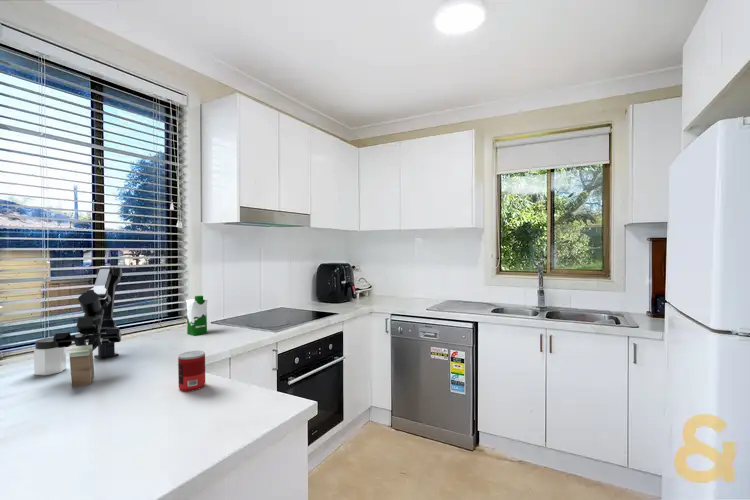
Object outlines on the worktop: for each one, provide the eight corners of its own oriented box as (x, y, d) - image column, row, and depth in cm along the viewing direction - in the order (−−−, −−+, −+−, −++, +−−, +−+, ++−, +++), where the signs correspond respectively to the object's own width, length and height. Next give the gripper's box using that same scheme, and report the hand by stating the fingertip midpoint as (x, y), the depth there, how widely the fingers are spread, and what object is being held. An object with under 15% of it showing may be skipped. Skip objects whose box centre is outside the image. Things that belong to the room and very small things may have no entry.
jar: (58, 374, 135) (58, 341, 134) (30, 377, 132) (30, 343, 132) (69, 366, 143) (69, 335, 143) (43, 369, 140) (42, 337, 140)
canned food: (210, 384, 124) (210, 351, 124) (191, 393, 117) (191, 358, 117) (192, 381, 127) (192, 349, 127) (173, 390, 119) (172, 356, 119)
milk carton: (193, 336, 190) (193, 297, 190) (184, 334, 195) (184, 296, 195) (209, 333, 197) (209, 295, 197) (200, 330, 202) (200, 294, 202)
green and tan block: (76, 379, 127) (73, 346, 125) (94, 376, 129) (92, 344, 127) (71, 386, 123) (69, 352, 120) (90, 384, 125) (88, 351, 123)
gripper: (54, 309, 128) (42, 349, 118) (119, 305, 136) (113, 342, 126) (62, 328, 135) (51, 367, 125) (123, 323, 143) (118, 359, 133)
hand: (84, 358), depth 127 cm, fingers closed
